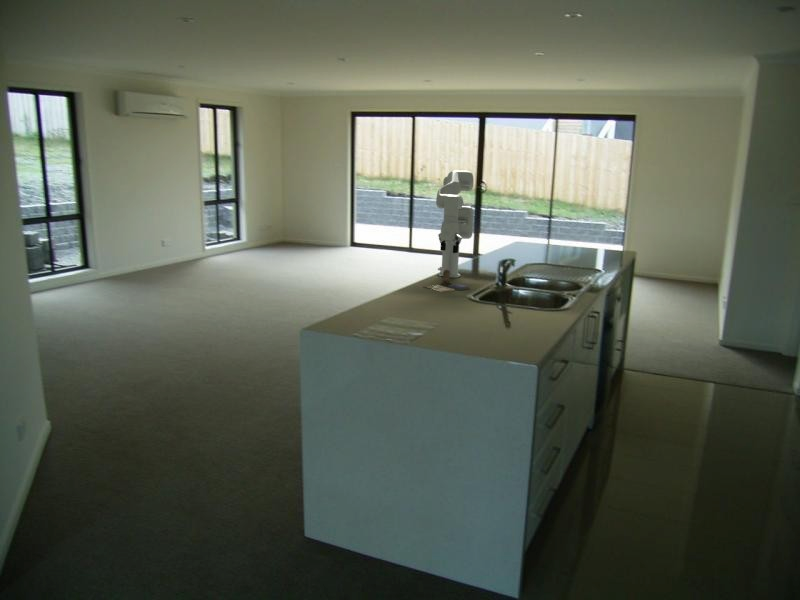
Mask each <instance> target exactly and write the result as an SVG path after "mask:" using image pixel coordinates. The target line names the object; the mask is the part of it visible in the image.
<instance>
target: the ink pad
mask: <svg viewBox="0 0 800 600" xmlns="http://www.w3.org/2000/svg"><path fill="white" fill-rule="evenodd" d="M447 288H451V289H455V290H458V291H466V290H470V289H471V287H470V286H469V285H465V284H461V283H453V284H452V283H451V285H449V286H448V287H447Z"/></svg>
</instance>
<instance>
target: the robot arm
mask: <svg viewBox="0 0 800 600" xmlns="http://www.w3.org/2000/svg"><path fill="white" fill-rule="evenodd" d="M442 182H443V184H442V186H441V187H440V188H439V189H438V190H437V194H436V199H435V200H436V202H435V204H436V206H437V208H438V209H443V217H442V218H443V221H442V223H441V225H440V226H441V227H440V233H438V235H437V236H438V240H439V244H440V252H441V251H442V252H441V253H442V255H441V266H440V267H438V268H437V270H438V271H439V272H438V276H439V277H441V276H443V272H444V270H449V271H450V278H460V277H461V274H460V273H459V253H460V243H461V242H462V241H463V240H462V239H466V240H467V239H468V240H469V239H471V238H472V237H473V232H474V209H473V207H471V206H469V205H464V199H463V197H462V196H461V195H460V193H461V191H463V192H470V191H472V189H473V187H474V174H473V173H472V172H471V171H469V170H451V171H450V172H449V173H448V174H447V175H446V176H445V177H444V178H443V181H442ZM440 273H441V274H440Z"/></svg>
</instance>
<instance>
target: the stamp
mask: <svg viewBox="0 0 800 600" xmlns="http://www.w3.org/2000/svg"><path fill="white" fill-rule="evenodd" d="M451 284H452V282H451V283H450V271H449V270H444V272H443V277H442V282H440V286H443V287H447V286H449V285H451Z"/></svg>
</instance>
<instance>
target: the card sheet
mask: <svg viewBox="0 0 800 600" xmlns="http://www.w3.org/2000/svg"><path fill="white" fill-rule="evenodd" d="M434 285H435V286H434ZM432 286H434V287H433V288H432V289H433V290H434V291H437V292H440V293H442V292H449V291H455V290H456V289H453V288H449V287H447V286H444V285H439V284H433V285H432ZM432 289H431V290H432ZM433 290H432V291H433Z"/></svg>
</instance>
